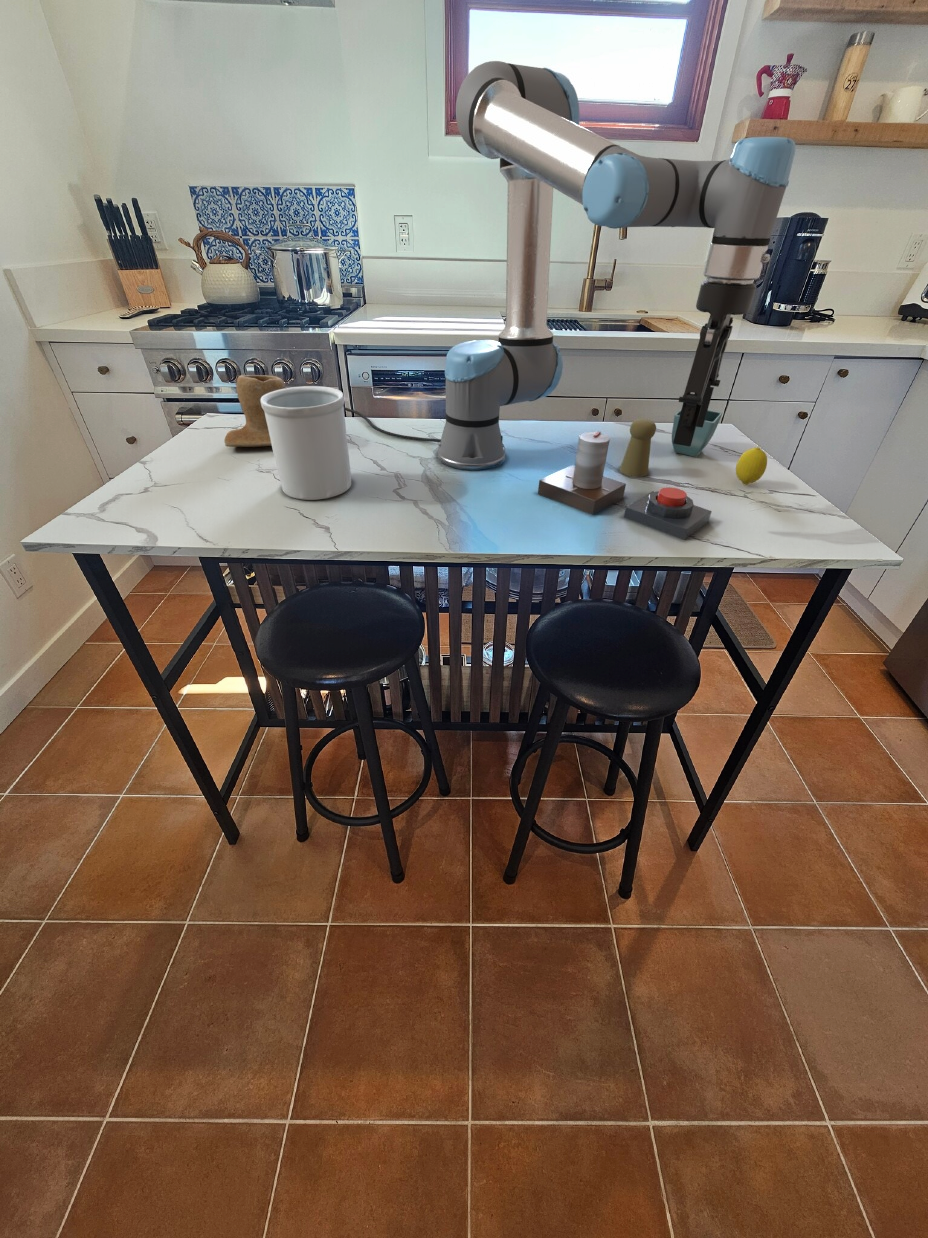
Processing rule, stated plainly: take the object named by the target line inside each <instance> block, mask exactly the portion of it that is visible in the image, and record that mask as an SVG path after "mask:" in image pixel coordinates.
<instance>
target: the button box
mask: <svg viewBox="0 0 928 1238" xmlns="http://www.w3.org/2000/svg"><path fill="white" fill-rule="evenodd" d="M658 494H659V490H657V491H654V490H652V491H650V492H648V493H647V494H645V495H644V496H641V497H640V498H638V499H637V500H635V501H633V502H632V503H630V504H628V505H627V506H626V507H625V509H624V514H623V518H624V519H627V520H629V521H632V522H634V523H638V524H640V525H643V526H645V527H647V528H650V529H654V530H656V531H659V532H661V533H664V534H666V535H669V536H672V537H675V538H677V539H680V540H683V541H684V540H686V539H687V538H688V537H690V536H691V535H693V534H694V533H695V532H697V531H698V530H699V529H701V528H702V527H703V526H704V525H706V524H708V523H709V521H710V518H711V515H712V510H710V509H708V508H707V509H706V508H704V507H702V506H698V505H695V504H694V500H693V499H692V498H691V497H689V496H688V495H687V497H686V500H685V504H684V505H683V506H678V507H674V506H667V505H664V504H662V503H660V502H658V501H657V498H658Z"/></svg>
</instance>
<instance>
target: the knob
mask: <svg viewBox="0 0 928 1238" xmlns="http://www.w3.org/2000/svg"><path fill="white" fill-rule="evenodd" d="M610 440H611V438H610V436H608V435H607V434H605V433H602V432H601V431H599V430H598V431H596V432H595V431H591V432H589V431H587V432H583V433H581V434H579V436H578V442H577V448H576V455H575V462H574V466H575V468H574V475H573V484H574V485H575V486H577V487H580V488H584V489H596V488H599V487H600V486H601V485H602V479H603V476H604V475H605V473H604V472H605V468H606V462H607V457H608V451H609V446H610Z"/></svg>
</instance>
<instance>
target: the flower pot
mask: <svg viewBox="0 0 928 1238" xmlns="http://www.w3.org/2000/svg"><path fill="white" fill-rule="evenodd" d="M681 410H682V408H680V409H679V411H677V412H676V413H675V414H674V416H673V423H672V429H671V444H672V445H671V446H672V448H673V451H674V453H677V454H681V455H686V456H690V457H695V458H696V457H698V455H700V453H702V451H703V450H704V449H705V448H706V446H707V445H708V444H709V443H710V441H711V439H712V438H713V437H714V434H715V432H716V430H717V428H718V425H719V423H720V420H721V418H722V416H723V413H722V412H721V411H715V410H709V409H708V411H707V414H706V418H705V421H704V425H703V427H702V428H701V427H696V429H695V432H694V436H693V440H692V443H691V446H690V447H689V446H683V445H678V444H673V441H674V437H675V433H676V429H677V425H678V421H679V417H680V414H681Z"/></svg>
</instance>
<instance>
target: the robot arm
mask: <svg viewBox="0 0 928 1238" xmlns="http://www.w3.org/2000/svg"><path fill="white" fill-rule="evenodd" d="M580 114H581V113H580V103H579V98H578V93H577V91H576V89H575V86H574V84H572V81H570V78H569V77H567V76H566V75H565V74H563V73H561V72H557V71H555V70H552V69H551V68H548V67H538V66H529V65H522V64H515V63H509V62H505V61H502V60H501V61H500V60H490V61H486V62H485V61H484V62H482V63H480V64H478V65H477V66H475V67H474V68H473V69H472V70H471V71H470V72H469V73H468V74H467V75H466V76H465V78H464V79H463V81H462V82H461V85H460V87H459V89H458V93H457V97H456V101H455V120H456V126H457V129H458V131H459V134H460V136H461V138H462V140H463V142H464V143H466V145H467V146H468V147H469V148H470V149H472V150H473V151H475V152H476V153H478V154H480V155H482V156H483V157H485V158H487V159H490V160H497V159H499V173H501V175H502V176H503V178H504V179H505V180H506V183H507V201H506V203H507V205H506V206H507V208H506V209H507V214H506V217H507V218H506V285H505V287H506V288H505V291H506V292H505V326H504V328H503V329H502V330H501V331H500V333H498V341H497V340H493V339H480V340H476V339H475V340H468V341H464V342H460V343H458V344H456V345H454V346H453V347H451V348H450V349H449V350H448V352H447V353H446V358H445V368H444V377H445V424H444V427H443V429H442V430H443V431H442V434H441V436H440V437H441V438H429V437H419V436H411V435H405V434H404V435H403V434H399V433H396V432H390V431H388V430H385V429H383V428H380V427H378V426H376V425H375V424H373V422H372V421H371V419H369V418H368V417H367V416H366V415H364V414H363V413H361V412H359V411H357V410H354V409H351V408H348V407H346V406H343V407H344V411H346V412H349V413H352V414H356V415H357V416H359V417H361V418H362V419H363V420H365V421H366V422H367V423H368V425H369V426H370V427H371V428H372V429H374V430H375V431H377V432H379V433H381V434H385V435H387V436H391V437H394V438H400V439H405V440H412V441H419V442H431V443H438V446H437V459H438V461H439V462H440V463H442V464H443V465H445V466H448V467H450V468H454V469H459V470H466V471H481V470H489V469H492V468H495V467H498V466H499V465H501V464H503V463H504V462H505V460H506V448H505V444H504V443H503V440H504V439H503V438H504V436H503V435H502V432H501V427H500V411H501V410H500V409H501V407H505V406H509V405H515V404H520V403H524V402H535V401H537V400H539V399H543V398H546V397H548V396H550V395H551V394H552V393H553V392H554V391H555V390H556V389H557V387H558V385H559V384H560V381H561V379H562V375H563V368H564V359H563V355H562V354H561V353H560V352H561V349H560V347H559V346H558V345H557V343H555V342H554V333H553V332H552V330H551V329H550V328H549V327H548V324H547V323H548V322H547V321H548V305H549V284H550V264H551V263H550V262H551V246H552V245H551V244H552V243H551V242H552V223H553V203H554V189H555V190H556V191H558V192H560V193H561V194H563V195H565V196H567V197H568V198H570V199H571V200H573V201H575V202H577V203H578V204H580V205H582V206H583V210H584V211H585V213H586V216H587V219H588V220H589V221H590V222H591V223H592V224H593V225H596V226H598V227H607V228H609V229H613V230H614V229H616V230H617V229H622V228H650V227H651V228H654V227H655V228H707V229H713V232H712V239H711V242H710V244H709V249H708V253H707V256H706V261H705V265H704V269H703V276H704V277H705V278H706V279H705V280H703V282H701V283H700V288H699V291H698V296H697V300H696V304H695V308H696V310H697V311H699V312H702V313H708V314H709V318H708V321H707V323H706V322H705V324H704V325H702V326H701V329H700V332H699V340H698V344H697V347H696V350H695V353H694V354H695V355H694V358H693V362H692V366H691V369H690V372H689V375H688V378H687V382H686V386H685V389H684V391H683V392H684V393H683V394H682V396H679V398H678V403H682V405H681V409H682V410H681V409H680V410H681V414H680V417H679V421H678V425H677V429H676V433H675V437H674V441H673V444H678V445H683V446H689V447H690V446H691V443H692V440H693V436H694V432H695V429H696V427H701V428H702V427H703V425H704V421H705V418H706V414H707V411H708V410H709V408H710V403H711V399H712V396H713V393H714V389H715V387H720V384H721V379H718V378H719V376H720V374H719V373H720V369H721V367H722V361H723V357H724V353H725V351H726V348H727V346H728V342H729V339H730V337H731V334H732V332H733V327H734V326H733V325H732V324H733V322H734V316H741V315H746V314H747V313H749V312H750V310H751V307H752V304H753V302H754V297H755V294H756V291H757V285H756V283H753V282H754V281H756V280H758V279H759V278H760V276H761V273H762V269H763V263H768V262H770V260H771V255H770V254H769V253H766V252H767V251H768V250H769V249H768V248H769V245H770V242H771V237H772V234H773V231H774V228H775V225H776V221H777V218H778V215H779V212H780V209H781V206H782V201H783V199H784V196H785V192H786V189H787V187H788V186H789V184H790V181H789V180H790V175H791V170H792V167H793V163H794V158H795V154H796V150H797V147H796V143H795V141H794V140H793V139H792V138H789V137H784V136H783V137H782V136H780V137H779V136H756V137H753V136H752V137H747V138H741V139H739V140H738V141H737V142H736V144H735V145H734V147H733V151H732V154H731V155H730V157H729V159H723V160H690V159H689V160H688V159H676V158H663V157H651V156H644V155H640V154H639V153H638V154H637V153H635V152H634V151H632V150H630V149H628V148H625V147H623V146H621V145H620V144H617V143H616V142H613V141H611V140H609V139H607V138H605V137H604V136H601V135H599V134H597V133H595V132H593V131H592V130H589V129H587V128H585V127H583V126H582V125H581V126H580V117H581V115H580Z"/></svg>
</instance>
